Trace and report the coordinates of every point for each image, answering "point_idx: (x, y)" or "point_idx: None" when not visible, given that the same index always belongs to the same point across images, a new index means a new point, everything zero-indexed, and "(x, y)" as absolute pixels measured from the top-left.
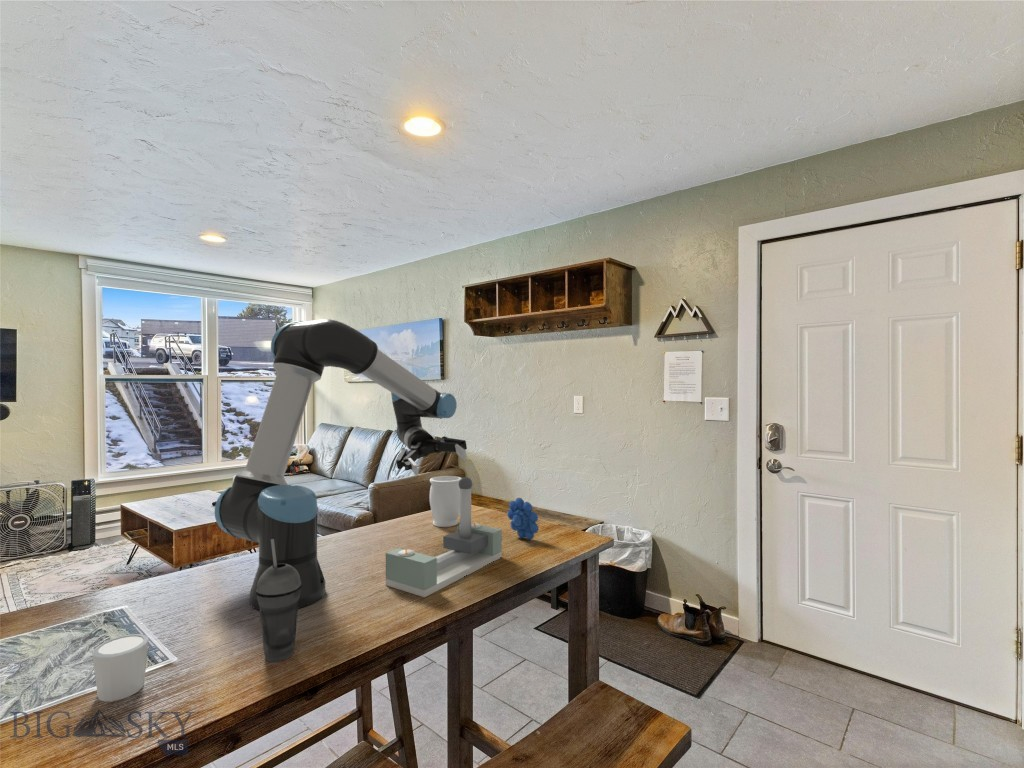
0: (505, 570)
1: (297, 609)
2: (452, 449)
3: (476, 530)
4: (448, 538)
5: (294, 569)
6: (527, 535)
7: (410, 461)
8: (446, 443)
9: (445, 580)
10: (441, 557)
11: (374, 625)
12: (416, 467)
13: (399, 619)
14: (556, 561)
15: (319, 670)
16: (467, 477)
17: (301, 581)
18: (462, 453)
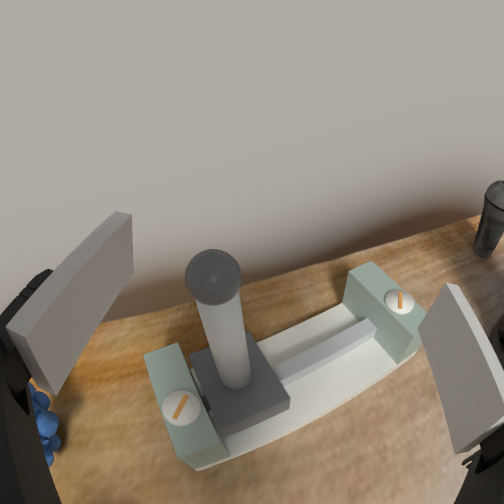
0: (200, 332)
1: (482, 217)
2: (32, 437)
3: (194, 384)
4: (281, 384)
5: (495, 185)
6: (57, 417)
7: (491, 346)
8: (9, 486)
9: (324, 312)
10: (312, 362)
11: (419, 263)
12: (441, 295)
13: (394, 264)
14: (110, 322)
15: (446, 226)
16: (202, 254)
17: None
18: (124, 244)
